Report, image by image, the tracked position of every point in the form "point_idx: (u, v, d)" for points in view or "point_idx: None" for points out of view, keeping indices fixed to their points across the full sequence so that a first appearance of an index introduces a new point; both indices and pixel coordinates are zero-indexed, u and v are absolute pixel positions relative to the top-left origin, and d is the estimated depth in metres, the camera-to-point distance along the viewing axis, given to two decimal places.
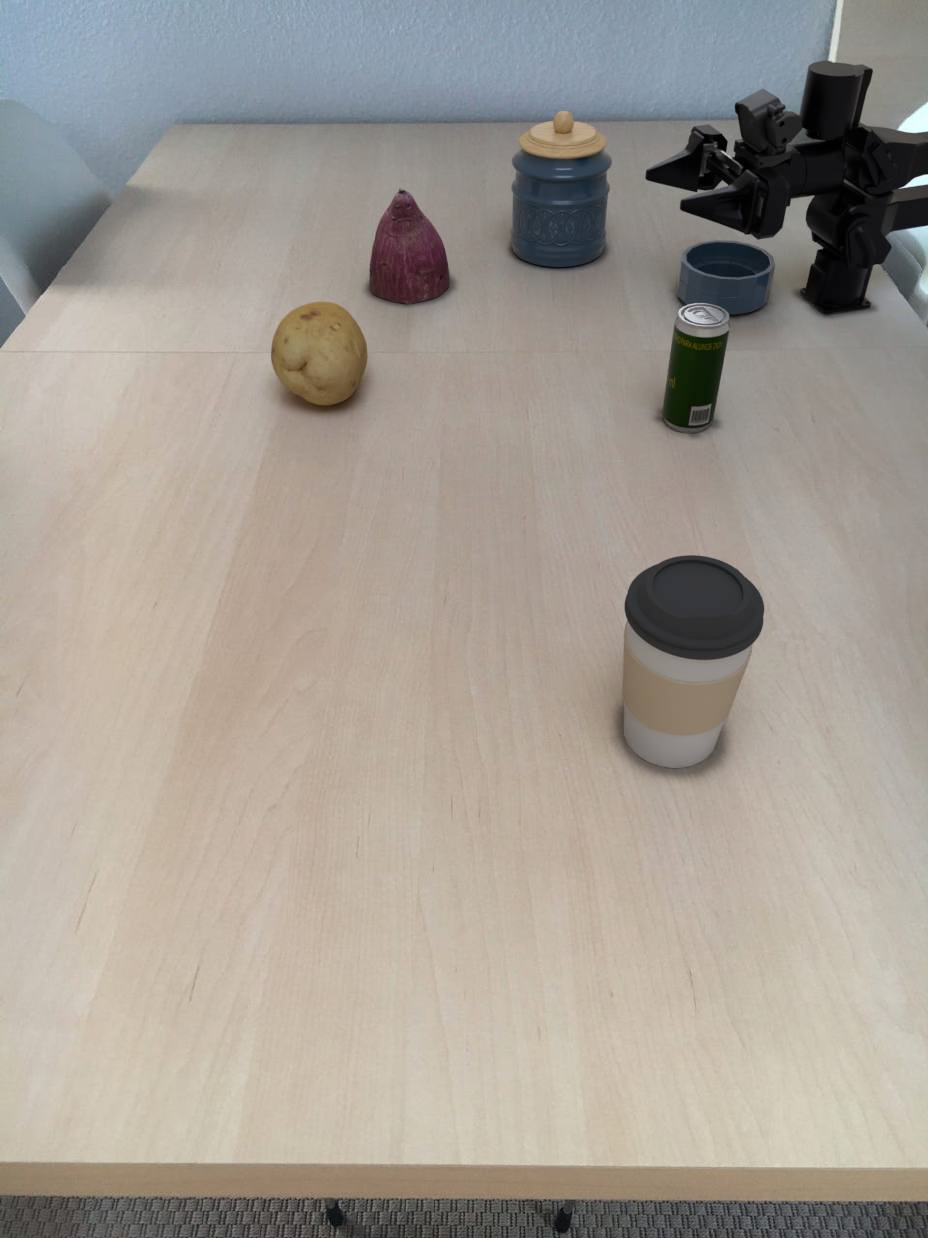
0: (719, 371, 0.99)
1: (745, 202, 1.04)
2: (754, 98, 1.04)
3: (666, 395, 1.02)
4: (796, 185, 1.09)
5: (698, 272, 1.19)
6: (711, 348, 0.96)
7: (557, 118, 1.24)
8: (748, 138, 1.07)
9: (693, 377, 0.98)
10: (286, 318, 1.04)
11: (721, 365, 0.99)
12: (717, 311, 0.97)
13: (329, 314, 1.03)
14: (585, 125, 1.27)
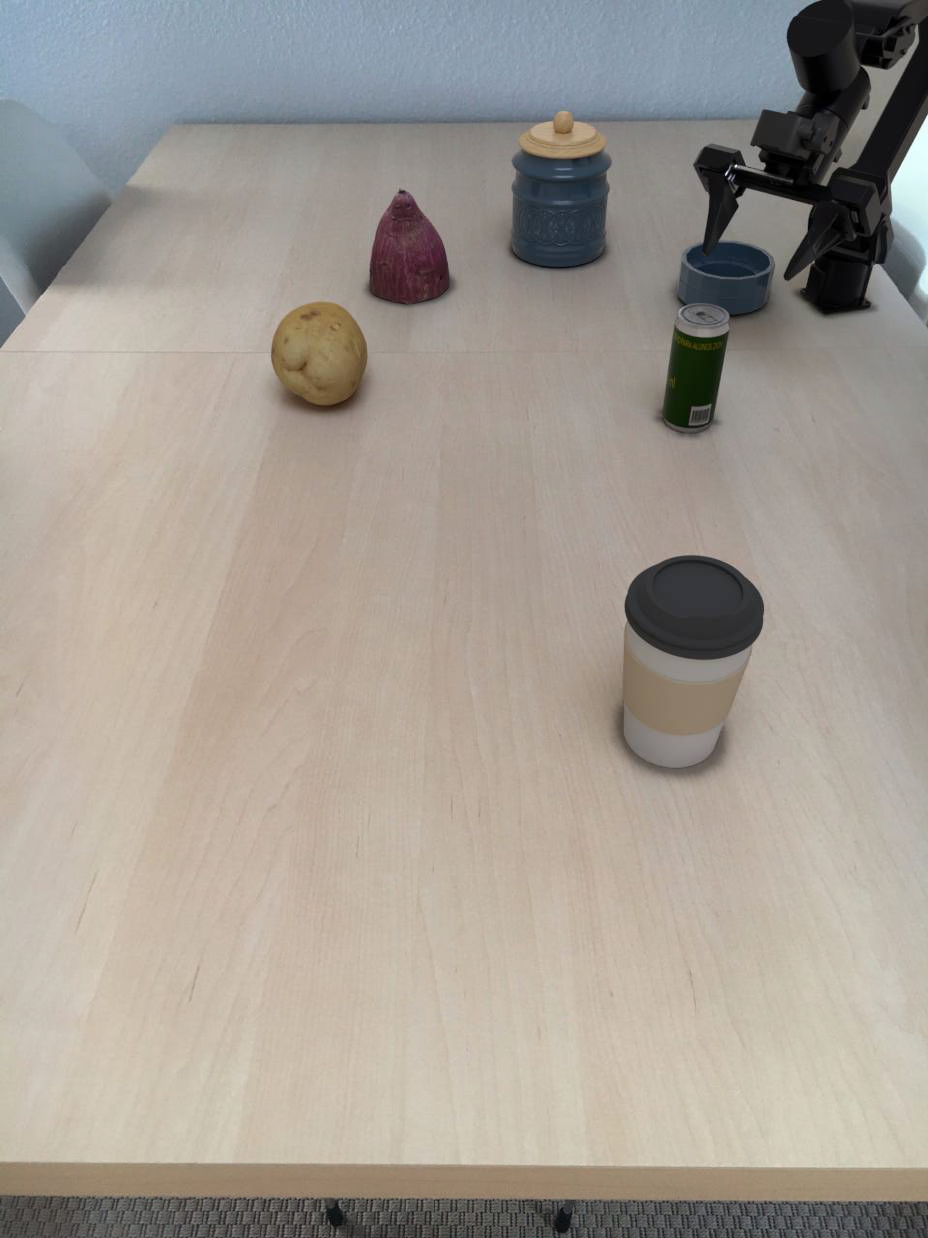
0: (719, 371, 0.99)
1: (837, 223, 0.96)
2: (771, 129, 0.92)
3: (666, 395, 1.02)
4: (843, 139, 0.98)
5: (698, 272, 1.19)
6: (711, 348, 0.96)
7: (557, 118, 1.24)
8: (778, 152, 0.96)
9: (693, 377, 0.98)
10: (286, 318, 1.04)
11: (721, 365, 0.99)
12: (717, 311, 0.97)
13: (329, 314, 1.03)
14: (585, 125, 1.27)
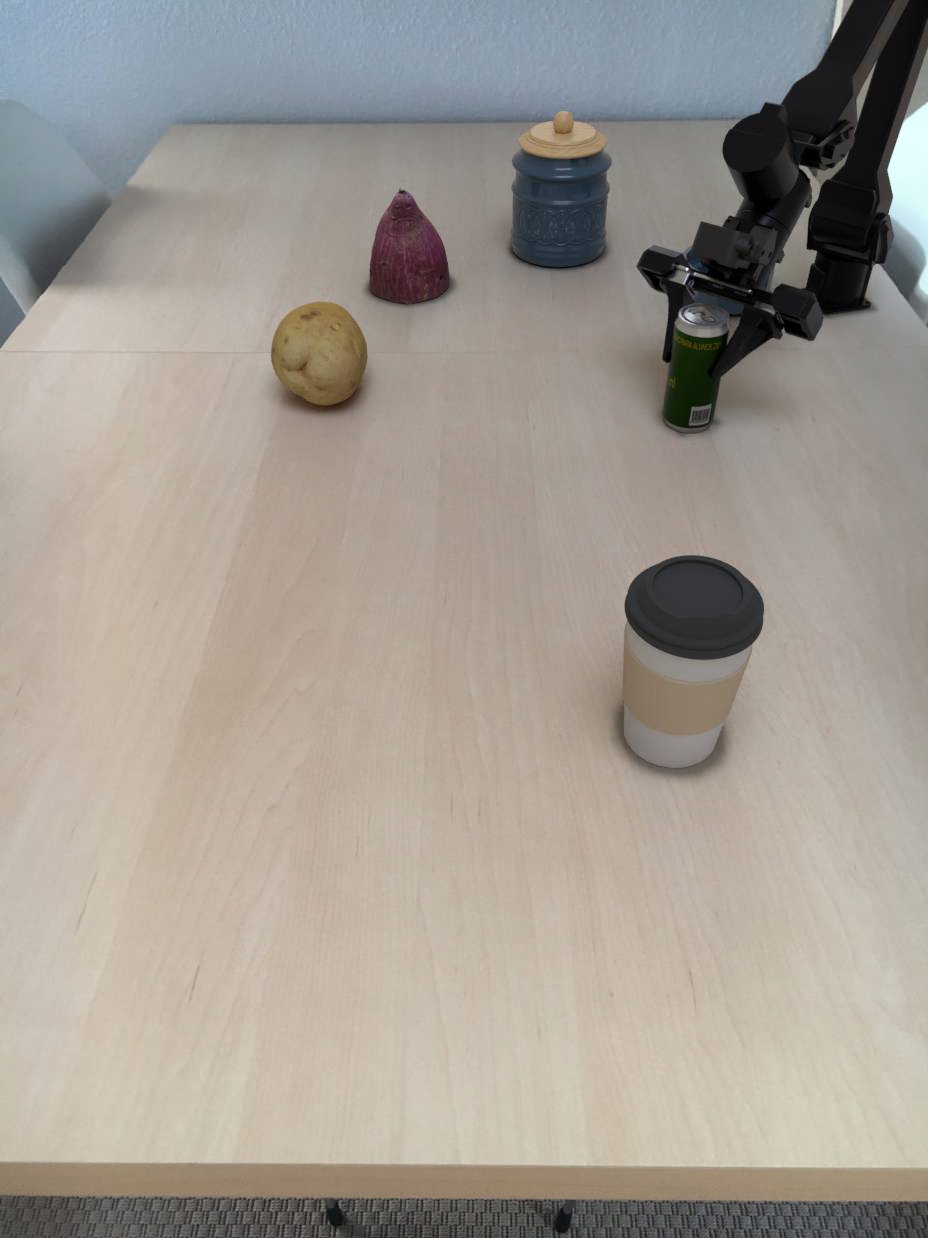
0: None
1: (762, 324, 0.96)
2: (709, 242, 0.92)
3: (666, 395, 1.02)
4: (784, 243, 0.97)
5: None
6: (711, 349, 0.96)
7: (557, 118, 1.24)
8: None
9: (693, 377, 0.98)
10: (286, 318, 1.04)
11: None
12: (717, 311, 0.97)
13: (329, 314, 1.03)
14: (585, 125, 1.27)
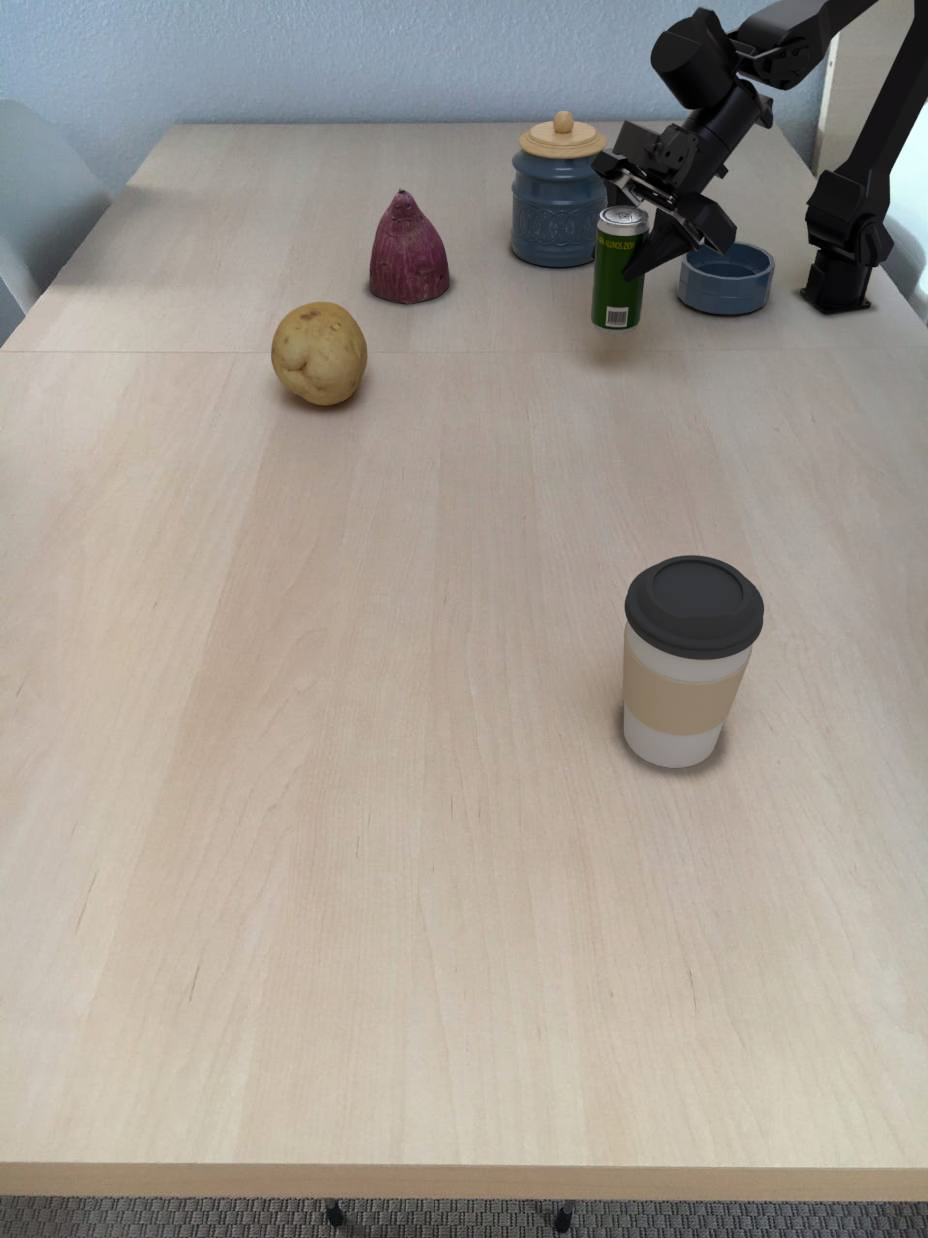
0: None
1: (677, 232, 0.99)
2: (625, 140, 0.96)
3: (592, 294, 1.07)
4: (721, 157, 0.98)
5: (698, 272, 1.19)
6: (621, 248, 1.00)
7: (557, 118, 1.24)
8: None
9: (607, 275, 1.03)
10: (286, 318, 1.04)
11: None
12: (639, 214, 1.00)
13: (329, 314, 1.03)
14: (585, 125, 1.27)
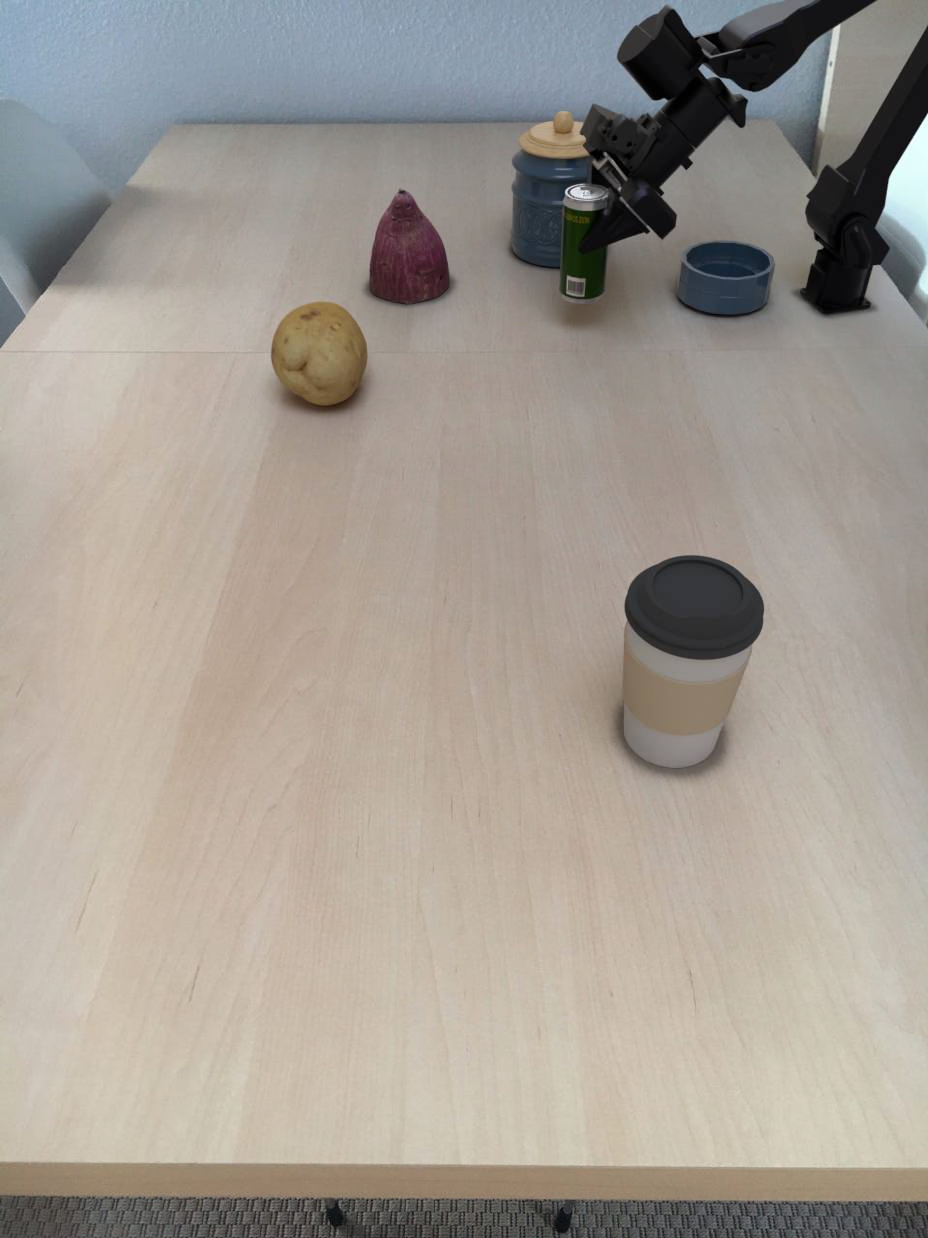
0: None
1: None
2: (588, 122, 1.05)
3: None
4: (682, 148, 1.05)
5: (698, 272, 1.19)
6: (577, 221, 1.09)
7: (557, 118, 1.24)
8: None
9: (566, 246, 1.12)
10: (286, 318, 1.04)
11: None
12: (601, 193, 1.09)
13: (329, 314, 1.03)
14: None
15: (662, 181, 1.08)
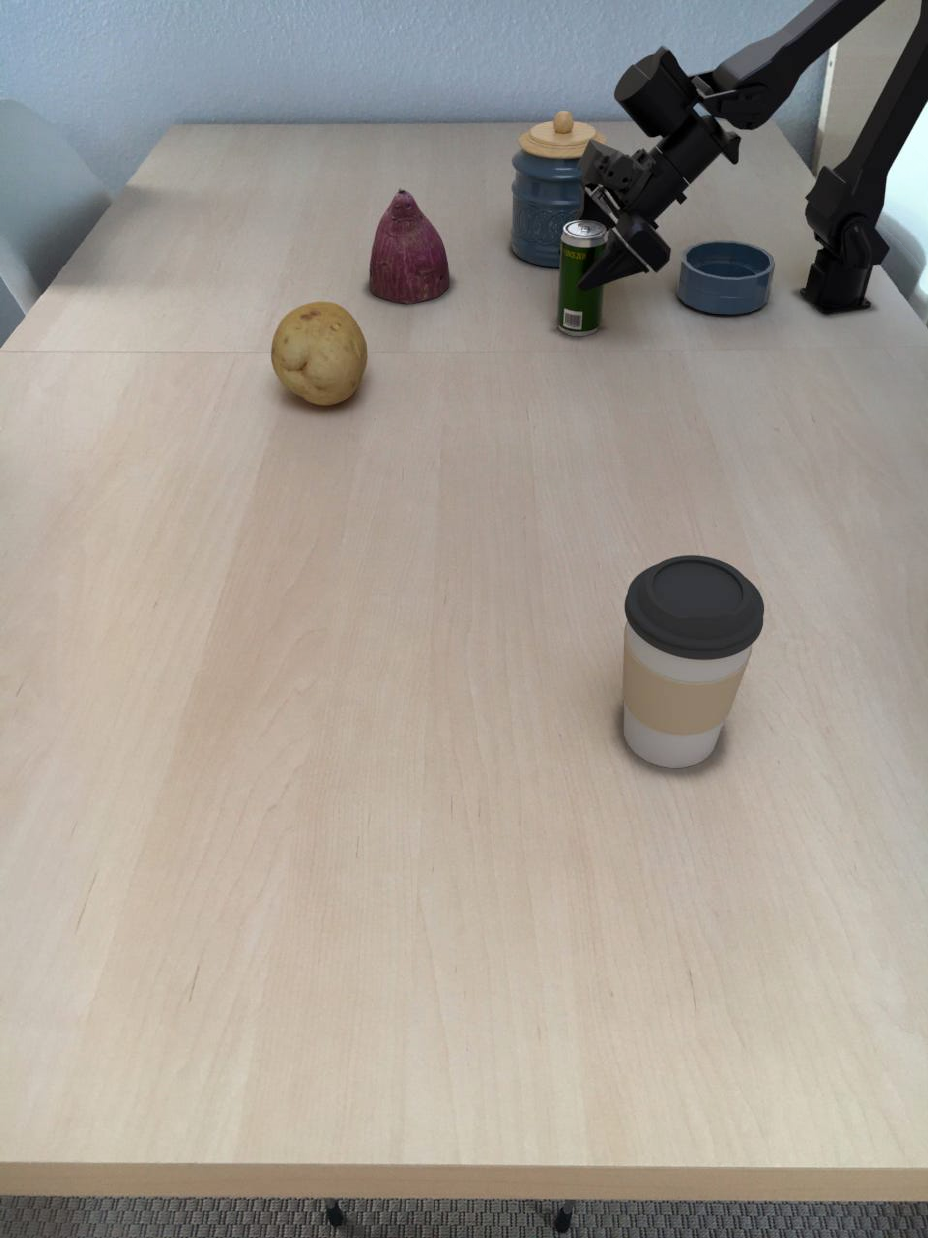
0: None
1: None
2: (585, 157, 1.07)
3: None
4: (676, 184, 1.07)
5: (698, 272, 1.19)
6: (575, 257, 1.12)
7: (557, 118, 1.24)
8: None
9: (564, 280, 1.15)
10: (286, 318, 1.04)
11: None
12: (598, 230, 1.12)
13: (329, 314, 1.03)
14: (585, 125, 1.27)
15: (657, 215, 1.10)
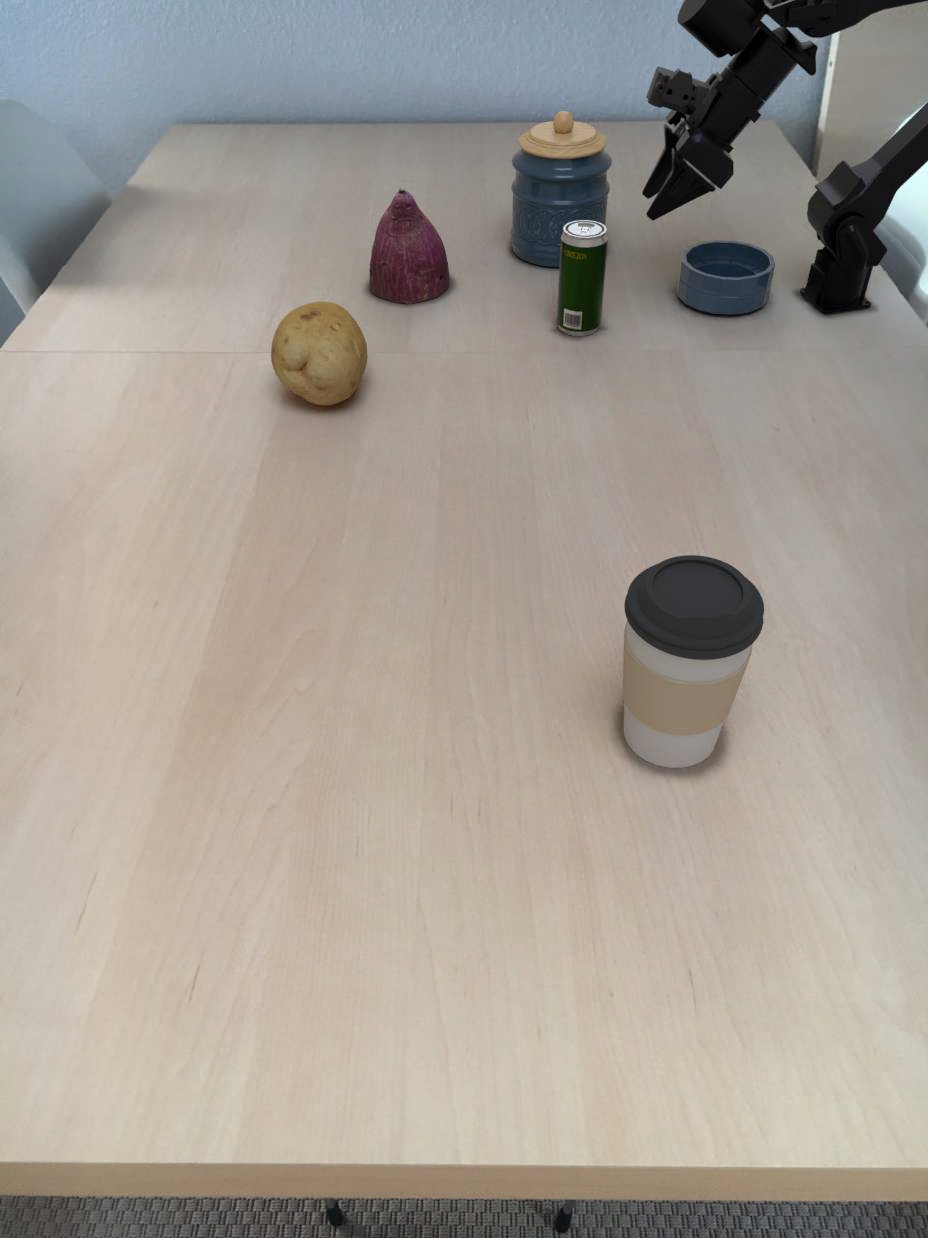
0: (588, 283, 1.14)
1: None
2: (651, 83, 1.07)
3: None
4: (746, 99, 1.04)
5: (698, 272, 1.19)
6: (575, 257, 1.12)
7: (557, 118, 1.24)
8: None
9: (564, 280, 1.15)
10: (286, 318, 1.04)
11: (590, 278, 1.13)
12: (598, 230, 1.12)
13: (329, 314, 1.03)
14: (585, 125, 1.27)
15: (730, 136, 1.07)
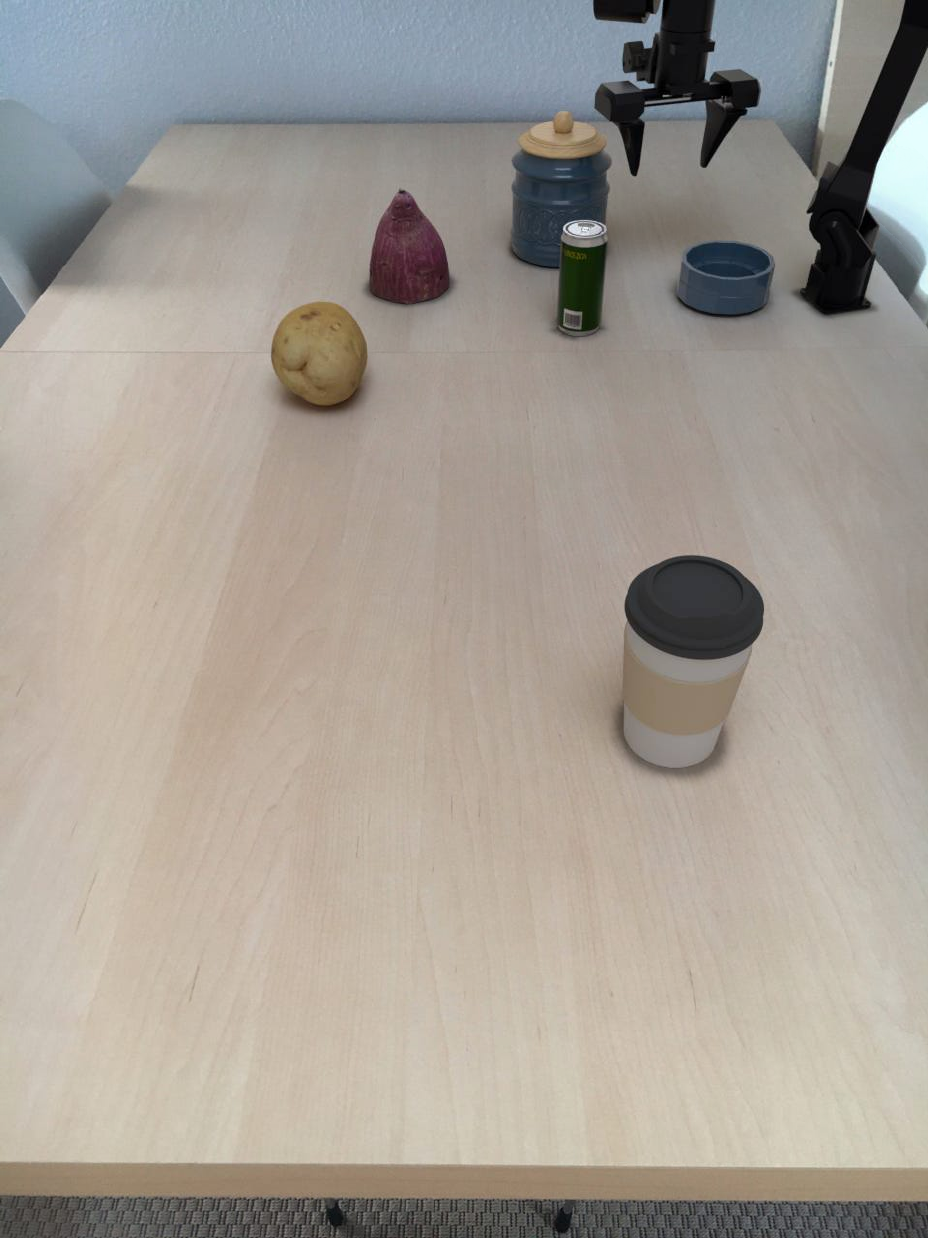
0: (588, 283, 1.14)
1: None
2: None
3: None
4: (663, 39, 1.11)
5: (698, 272, 1.19)
6: (574, 257, 1.12)
7: (557, 118, 1.24)
8: None
9: (564, 280, 1.15)
10: (286, 318, 1.04)
11: (590, 278, 1.13)
12: (598, 230, 1.12)
13: (329, 314, 1.03)
14: (585, 125, 1.27)
15: (668, 77, 1.12)
